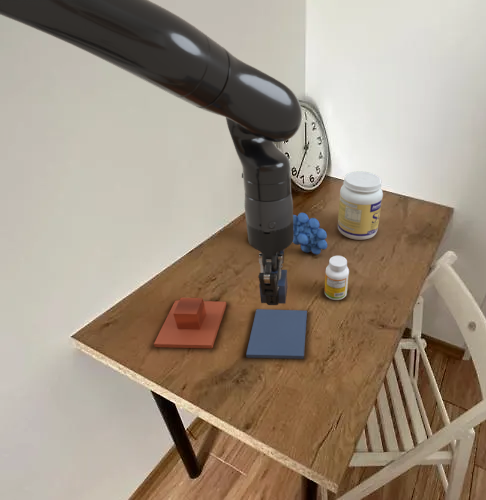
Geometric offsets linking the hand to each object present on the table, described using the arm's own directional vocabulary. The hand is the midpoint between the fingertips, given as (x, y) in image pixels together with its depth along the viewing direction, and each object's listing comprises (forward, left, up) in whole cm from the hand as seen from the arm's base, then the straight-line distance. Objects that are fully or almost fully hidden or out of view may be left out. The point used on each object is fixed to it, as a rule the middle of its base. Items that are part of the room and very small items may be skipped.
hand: (274, 293), depth 67 cm
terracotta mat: (+2, +18, -11) cm, 21 cm away
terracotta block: (+2, +18, -10) cm, 20 cm away
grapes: (+28, -4, -11) cm, 30 cm away
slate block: (0, 0, 0) cm, 0 cm away
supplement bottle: (+13, -12, -11) cm, 21 cm away
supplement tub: (+41, -19, -11) cm, 47 cm away
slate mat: (0, 0, -11) cm, 11 cm away
